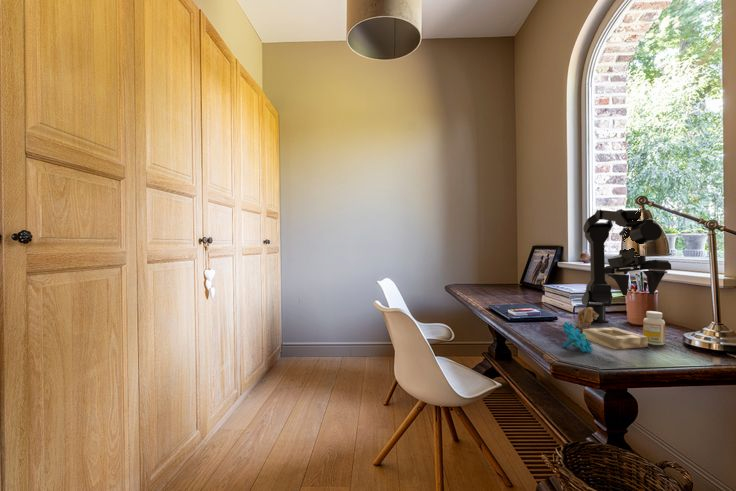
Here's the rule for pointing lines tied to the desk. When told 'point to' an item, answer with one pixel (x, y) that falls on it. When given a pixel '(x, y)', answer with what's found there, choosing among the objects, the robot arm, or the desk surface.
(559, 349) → the desk surface
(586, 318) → the lion figurine
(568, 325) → the teal lumpy piece
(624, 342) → the beige square frame
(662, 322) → the supplement bottle
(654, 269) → the robot arm
